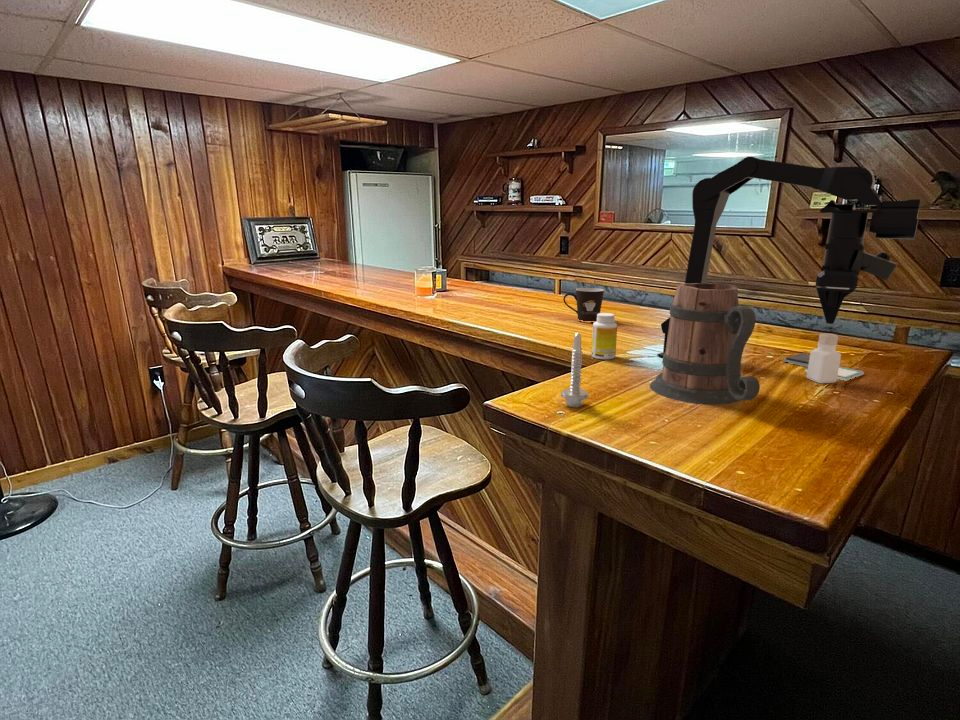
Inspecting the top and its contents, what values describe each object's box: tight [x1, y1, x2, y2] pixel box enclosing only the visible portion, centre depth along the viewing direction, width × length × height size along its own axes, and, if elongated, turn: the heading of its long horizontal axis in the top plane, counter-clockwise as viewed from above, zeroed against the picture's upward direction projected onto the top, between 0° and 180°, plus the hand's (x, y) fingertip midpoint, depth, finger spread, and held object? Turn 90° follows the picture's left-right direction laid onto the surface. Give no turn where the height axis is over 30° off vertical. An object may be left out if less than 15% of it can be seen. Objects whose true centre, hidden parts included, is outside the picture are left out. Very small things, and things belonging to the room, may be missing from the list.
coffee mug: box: [563, 287, 605, 321], centre depth 168 cm, size 12×9×10 cm
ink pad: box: [782, 352, 810, 368], centre depth 120 cm, size 8×7×1 cm
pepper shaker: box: [806, 332, 842, 384], centre depth 106 cm, size 4×4×10 cm
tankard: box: [649, 283, 761, 406], centre depth 96 cm, size 24×17×20 cm
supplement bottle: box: [591, 312, 618, 360], centre depth 124 cm, size 6×6×10 cm
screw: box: [560, 332, 590, 408], centre depth 92 cm, size 13×5×5 cm
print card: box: [804, 366, 865, 382], centre depth 112 cm, size 8×8×1 cm
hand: (831, 319), depth 104 cm, fingers open, 9 cm apart
